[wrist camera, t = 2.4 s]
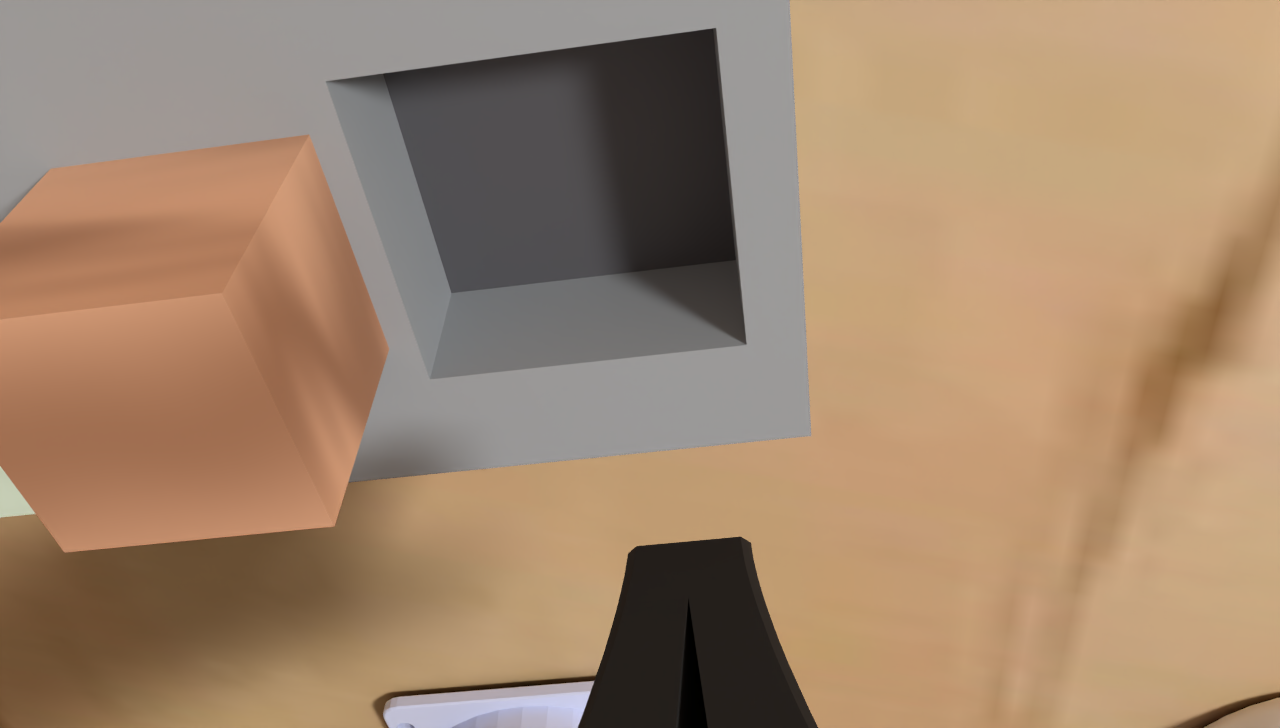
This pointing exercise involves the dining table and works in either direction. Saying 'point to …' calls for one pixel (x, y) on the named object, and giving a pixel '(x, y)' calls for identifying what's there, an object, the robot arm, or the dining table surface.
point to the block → (183, 347)
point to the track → (485, 197)
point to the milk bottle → (1252, 717)
